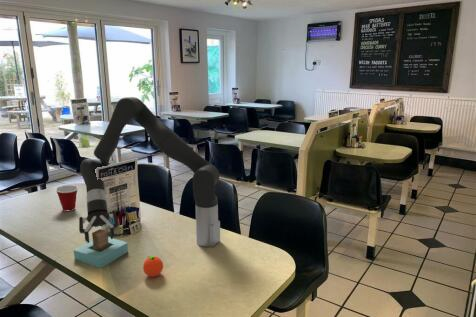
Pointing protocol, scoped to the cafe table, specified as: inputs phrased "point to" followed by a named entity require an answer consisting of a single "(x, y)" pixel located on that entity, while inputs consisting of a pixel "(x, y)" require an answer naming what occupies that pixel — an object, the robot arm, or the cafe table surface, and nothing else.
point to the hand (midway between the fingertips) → (100, 240)
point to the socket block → (100, 253)
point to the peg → (100, 240)
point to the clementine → (153, 266)
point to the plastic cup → (67, 196)
